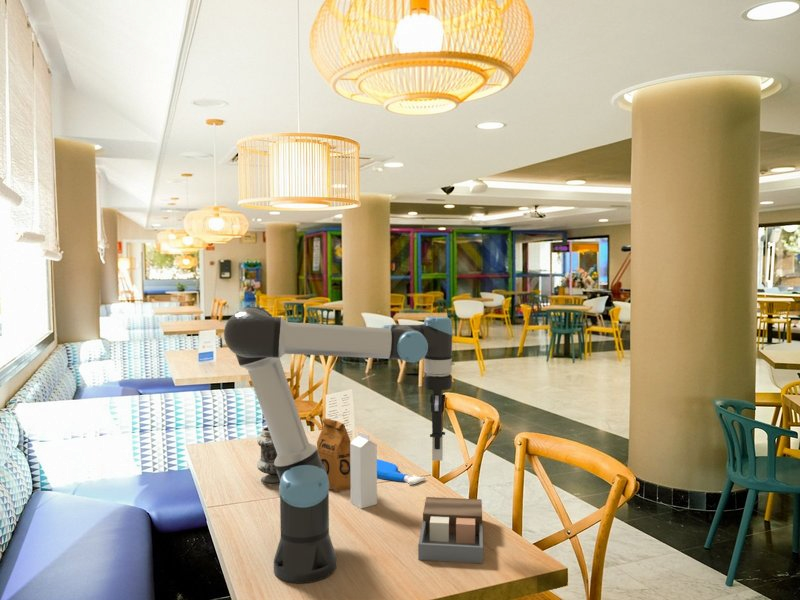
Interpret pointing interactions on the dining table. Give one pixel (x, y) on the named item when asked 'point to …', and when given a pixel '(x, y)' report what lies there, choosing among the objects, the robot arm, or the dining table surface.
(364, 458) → the milk
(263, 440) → the dark stone vase
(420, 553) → the box
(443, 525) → the cream block
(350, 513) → the dining table surface
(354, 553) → the dining table surface
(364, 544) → the dining table surface
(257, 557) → the dining table surface
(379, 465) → the spray bottle
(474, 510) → the block
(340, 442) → the coffee package
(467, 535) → the salmon orange block
